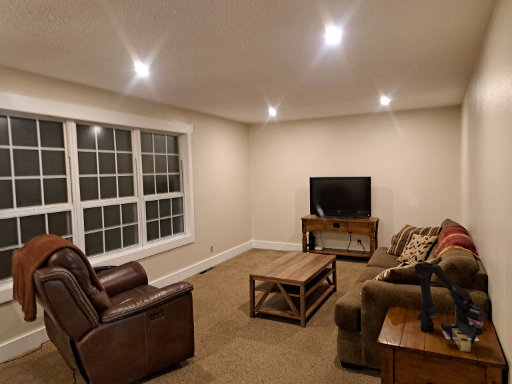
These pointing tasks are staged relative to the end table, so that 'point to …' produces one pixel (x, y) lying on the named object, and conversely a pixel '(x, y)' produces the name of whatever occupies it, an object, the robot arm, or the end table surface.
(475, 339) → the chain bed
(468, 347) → the gold cutout plate
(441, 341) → the end table surface
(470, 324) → the video game controller
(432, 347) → the end table surface
